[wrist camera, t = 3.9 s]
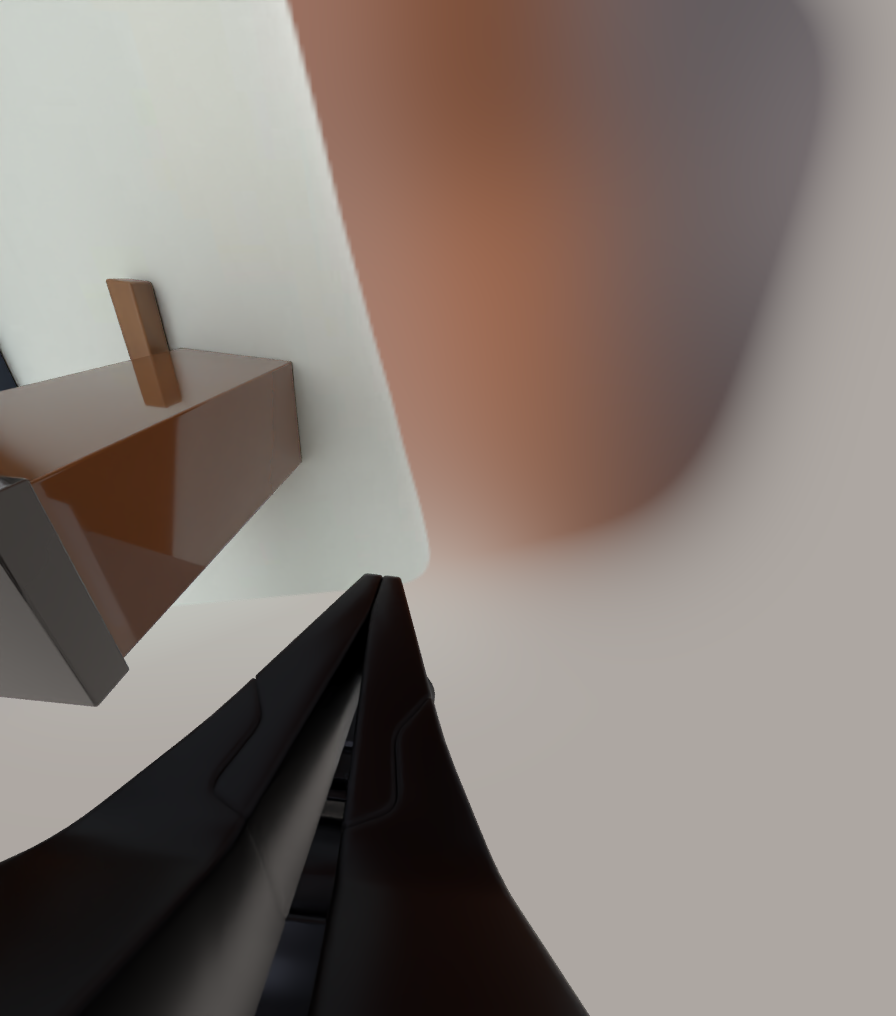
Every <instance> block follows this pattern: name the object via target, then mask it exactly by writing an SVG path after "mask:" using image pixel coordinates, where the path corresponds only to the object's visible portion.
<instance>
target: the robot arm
mask: <svg viewBox="0 0 896 1016" xmlns="http://www.w3.org/2000/svg"><path fill="white" fill-rule="evenodd" d="M0 1016H590V1015H589V1014H588V1013H587V1011H586V1009H585V1008H584V1006H583V1005H582V1003H581V1002H580V1000H579V999H578V997H577V995H576V994H575V992H574V991H573V990H572V988H571V986H570V985H569V983H568V982H567V980H566V979H565V977H564V976H563V974H562V973H561V971H560V970H559V968H558V966H557V965H556V963H555V962H554V961H553V959H552V957H551V956H550V954H549V953H548V951H547V950H546V948H545V947H544V945H543V944H542V942H541V941H540V939H539V937H538V936H537V934H536V933H535V931H534V930H533V928H532V927H531V925H530V924H529V922H528V921H527V919H526V918H525V916H524V915H523V913H522V912H521V910H520V908H519V907H518V905H517V904H516V902H515V901H514V899H513V898H512V896H511V894H510V892H509V891H508V889H507V887H506V885H505V883H504V881H503V879H502V877H501V875H500V873H499V872H498V869H497V867H496V865H495V863H494V861H493V859H492V856H491V854H490V852H489V849H488V848H487V845H486V843H485V840H484V838H483V835H482V833H481V830H480V828H479V825H478V823H477V821H476V818H475V816H474V813H473V811H472V808H471V806H470V803H469V802H468V799H467V796H466V794H465V791H464V789H463V786H462V784H461V782H460V779H459V777H458V774H457V772H456V769H455V766H454V764H453V761H452V758H451V756H450V753H449V750H448V748H447V745H446V742H445V739H444V736H443V733H442V729H441V726H440V723H439V720H438V716H437V712H436V709H435V705H434V701H433V699H432V694H431V690H430V687H429V683H428V679H427V675H426V672H425V668H424V664H423V660H422V657H421V653H420V649H419V645H418V641H417V637H416V634H415V630H414V626H413V622H412V619H411V615H410V611H409V607H408V604H407V600H406V596H405V592H404V589H403V585H402V581H401V579H400V578H399V577H394V576H384V577H382V576H381V575H377V574H368V573H367V574H364V575H363V576H362V577H361V578H360V579H359V580H358V581H357V582H356V583H355V584H353V585H352V586H351V587H350V588H349V589H348V590H347V591H346V592H345V593H344V594H343V595H342V596H341V597H339V598H338V599H337V600H336V601H335V602H334V603H333V604H332V605H331V606H330V607H329V608H328V609H327V610H326V611H325V612H323V613H322V614H321V615H320V616H319V617H318V618H317V619H316V620H315V621H314V622H313V623H312V624H311V625H309V626H308V627H307V628H306V629H305V630H304V631H303V632H302V633H301V634H300V635H299V636H298V637H297V638H295V639H294V640H293V641H292V642H291V643H290V644H289V645H288V646H287V647H286V648H285V649H284V650H283V651H282V652H280V653H279V654H278V655H277V656H276V657H275V658H274V659H273V660H272V661H271V662H270V663H269V664H268V665H267V666H265V667H264V668H263V669H262V670H261V671H260V672H259V673H258V674H257V675H256V679H254V678H253V679H251V680H250V681H249V682H248V683H247V684H246V685H245V686H244V687H243V688H242V689H240V690H239V691H238V692H237V693H236V694H235V695H234V696H233V697H232V698H231V699H230V700H228V701H227V702H226V703H225V704H224V705H223V706H222V707H220V708H219V709H218V710H217V711H216V712H215V713H214V714H213V715H212V716H210V717H209V718H208V719H206V720H205V721H204V722H203V723H202V724H200V725H199V726H198V727H197V728H195V729H194V730H193V731H192V732H191V733H190V734H188V735H187V736H186V737H184V738H183V739H182V740H181V741H179V742H178V743H177V744H176V745H175V746H173V747H172V748H171V749H169V750H168V751H167V752H165V753H164V754H163V755H162V756H160V757H159V758H158V759H157V760H155V761H154V762H153V763H151V764H150V765H149V766H148V767H146V768H145V769H144V770H143V771H141V772H140V773H139V774H137V775H136V776H135V777H134V778H132V779H131V780H130V781H129V782H127V783H126V784H125V785H123V786H122V787H121V788H120V789H119V790H117V791H116V792H114V793H113V794H112V795H111V796H109V797H108V798H107V799H106V800H104V801H103V802H102V803H100V804H99V805H98V806H96V807H95V808H94V809H93V810H91V811H90V812H89V813H87V814H86V815H84V816H83V817H82V818H80V819H79V820H77V821H76V822H74V823H73V824H71V825H70V826H69V827H67V828H65V829H63V830H62V831H60V832H59V833H57V834H55V835H54V836H52V837H50V838H48V839H47V840H45V841H43V842H41V843H39V844H38V845H36V846H34V847H32V848H30V849H28V850H26V851H24V852H22V853H19V854H17V855H16V856H13V857H11V858H8V859H7V860H4V861H2V862H0Z"/></svg>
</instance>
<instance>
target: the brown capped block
mask: <svg viewBox="0 0 896 1016" xmlns="http://www.w3.org/2000/svg"><path fill="white" fill-rule="evenodd" d="M301 462H302V459H301V450H300V440H299V431H298V421H297V411H296V402H295V392H294V383H293V373H292V364H291V362H290V361H283V360H275V359H267V358H259V357H250V356H242V355H234V354H226V353H217V352H209V351H201V350H193V349H184V348H179V349H175V350H171V351H166V352H162V353H158V354H154V355H150V356H146V357H141V358H137V359H133V360H129V361H125V362H121V363H116V364H112V365H108V366H104V367H100V368H96V369H91V370H87V371H83V372H79V373H75V374H71V375H66V376H62V377H58V378H54V379H50V380H46V381H41V382H37V383H33V384H29V385H25V386H20V387H16V388H12V389H8V390H4V391H0V697H7V698H16V699H26V700H35V701H45V702H55V703H65V704H74V705H84V706H94V707H97V706H98V705H99V704H100V703H101V702H102V701H103V700H104V699H105V697H106V696H107V695H108V694H109V693H110V692H111V691H112V689H113V688H114V687H115V686H116V685H117V684H118V682H119V681H120V680H121V679H122V678H123V677H124V676H125V674H126V673H127V672H128V671H129V667H128V665H127V664H126V662H125V660H124V657H125V656H126V655H127V654H128V653H129V652H130V650H131V649H132V648H133V647H134V646H135V645H136V644H137V643H138V641H139V640H141V638H142V637H143V636H144V635H145V634H146V633H147V632H148V631H149V629H150V628H151V627H152V626H153V625H154V624H155V623H156V622H157V621H158V620H159V619H160V618H161V616H162V615H163V614H164V613H165V612H166V611H167V610H168V609H169V608H170V606H171V605H172V604H173V603H174V602H175V601H176V600H177V599H178V598H179V597H180V595H181V594H182V593H183V592H184V591H185V590H186V589H187V588H188V587H189V586H190V584H191V583H192V582H193V581H194V580H195V579H196V578H197V577H198V576H199V575H200V573H201V572H202V571H203V570H204V569H205V568H206V567H207V566H208V565H209V564H210V562H211V561H212V560H213V559H214V558H215V557H216V556H217V555H218V554H219V553H220V551H221V550H222V549H223V548H224V547H225V546H226V545H227V544H228V543H229V542H230V540H231V539H232V538H233V537H234V536H235V535H236V534H237V533H238V532H239V531H240V529H241V528H242V527H243V526H244V525H245V524H246V523H247V522H248V521H249V520H250V518H251V517H252V516H253V515H254V514H255V513H256V512H257V511H258V510H259V509H260V507H261V506H262V505H263V504H264V503H265V502H266V501H267V500H268V499H269V498H270V496H271V495H272V494H273V493H274V492H275V491H276V490H277V489H278V488H279V487H280V485H281V484H282V483H283V482H284V481H285V480H286V479H287V478H288V477H289V476H290V474H291V473H292V472H293V471H294V470H295V469H296V468H297V467H298V466H299V465H300V463H301Z"/></svg>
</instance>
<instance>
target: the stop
mask: <svg viewBox="0 0 896 1016" xmlns="http://www.w3.org/2000/svg"><path fill="white" fill-rule="evenodd" d="M106 283H107V286H108V289H109V292H110V296H111V299H112V302H113V305H114V308H115V311H116V315H117V318H118V321H119V324H120V327H121V330H122V334H123V337H124V340H125V343H126V346H127V350H128V353H129V356H130V359H131V360H133V359H137V358H141V357H146V356H150V355H154V354H158V353H162V352H166V351H169V349H168V345H167V341H166V337H165V333H164V330H163V326H162V322H161V318H160V314H159V310H158V307H157V303H156V299H155V295H154V291H153V287H152V284H151V282H149V281H142V280H134V279H107V280H106Z"/></svg>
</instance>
